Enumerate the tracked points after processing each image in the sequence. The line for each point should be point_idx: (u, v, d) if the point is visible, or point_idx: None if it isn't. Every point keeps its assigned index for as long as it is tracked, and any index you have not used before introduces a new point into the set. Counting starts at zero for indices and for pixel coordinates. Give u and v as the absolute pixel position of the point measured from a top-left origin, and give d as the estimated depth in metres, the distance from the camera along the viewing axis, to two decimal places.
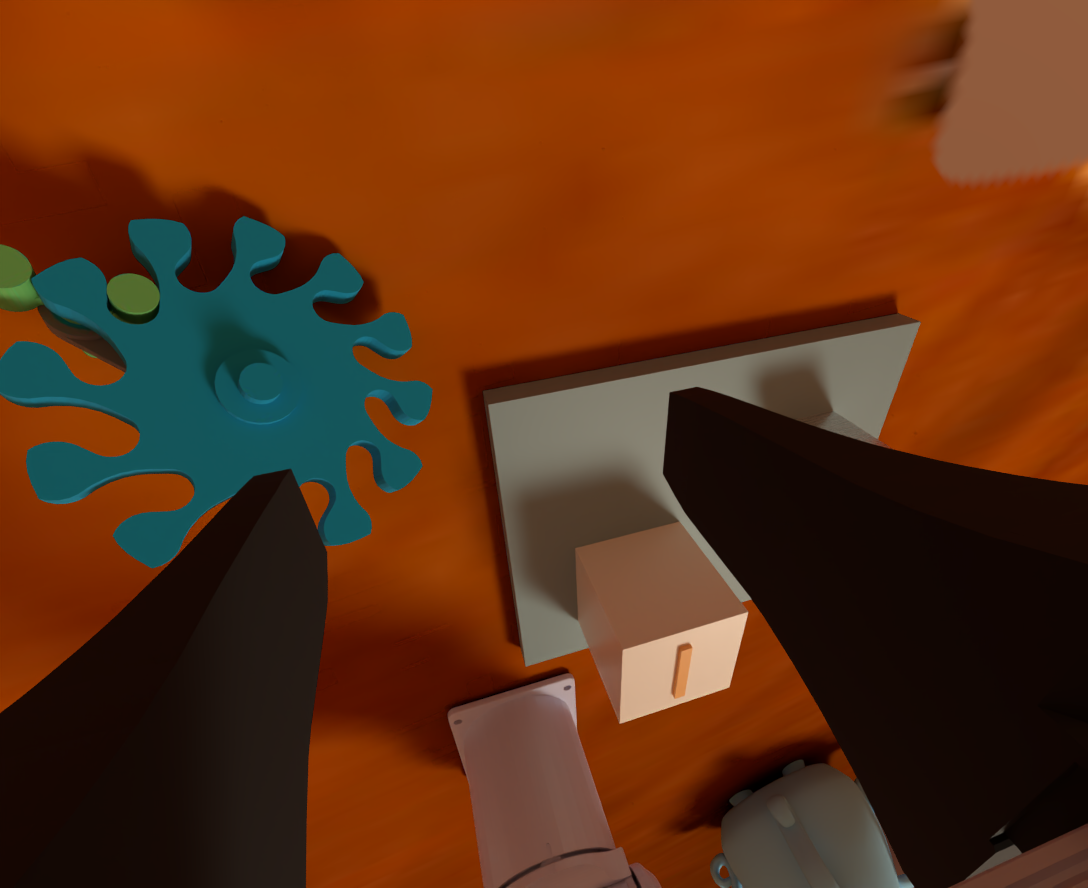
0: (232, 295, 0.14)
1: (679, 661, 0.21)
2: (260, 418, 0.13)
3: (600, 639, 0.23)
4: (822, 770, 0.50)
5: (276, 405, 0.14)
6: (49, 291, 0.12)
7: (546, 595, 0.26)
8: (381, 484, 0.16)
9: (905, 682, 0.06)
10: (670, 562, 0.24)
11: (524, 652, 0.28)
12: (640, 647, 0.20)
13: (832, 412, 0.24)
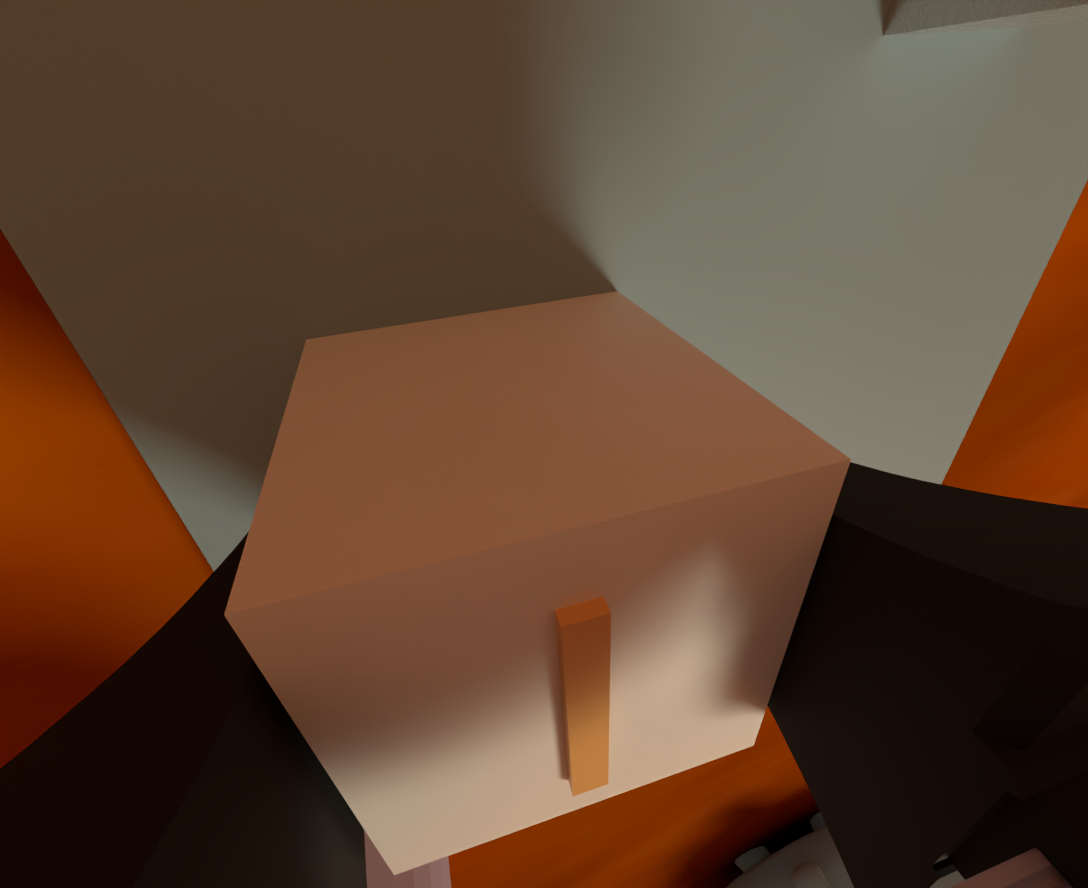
0: None
1: None
2: None
3: None
4: None
5: None
6: None
7: None
8: None
9: (852, 701, 0.06)
10: (569, 356, 0.07)
11: None
12: (339, 604, 0.04)
13: None
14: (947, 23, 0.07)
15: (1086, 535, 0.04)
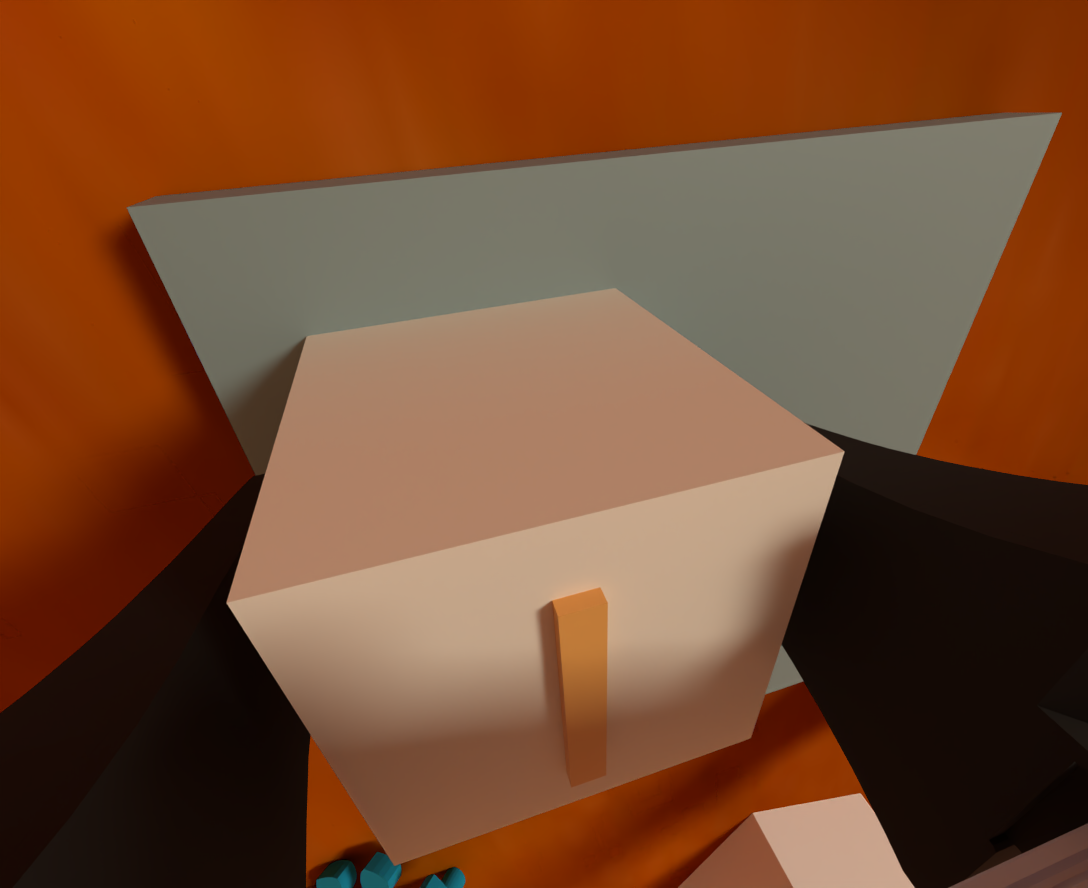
0: None
1: (562, 660, 0.05)
2: None
3: None
4: None
5: None
6: None
7: None
8: None
9: (905, 682, 0.06)
10: (567, 352, 0.08)
11: (796, 682, 0.21)
12: (340, 593, 0.04)
13: None
14: None
15: None
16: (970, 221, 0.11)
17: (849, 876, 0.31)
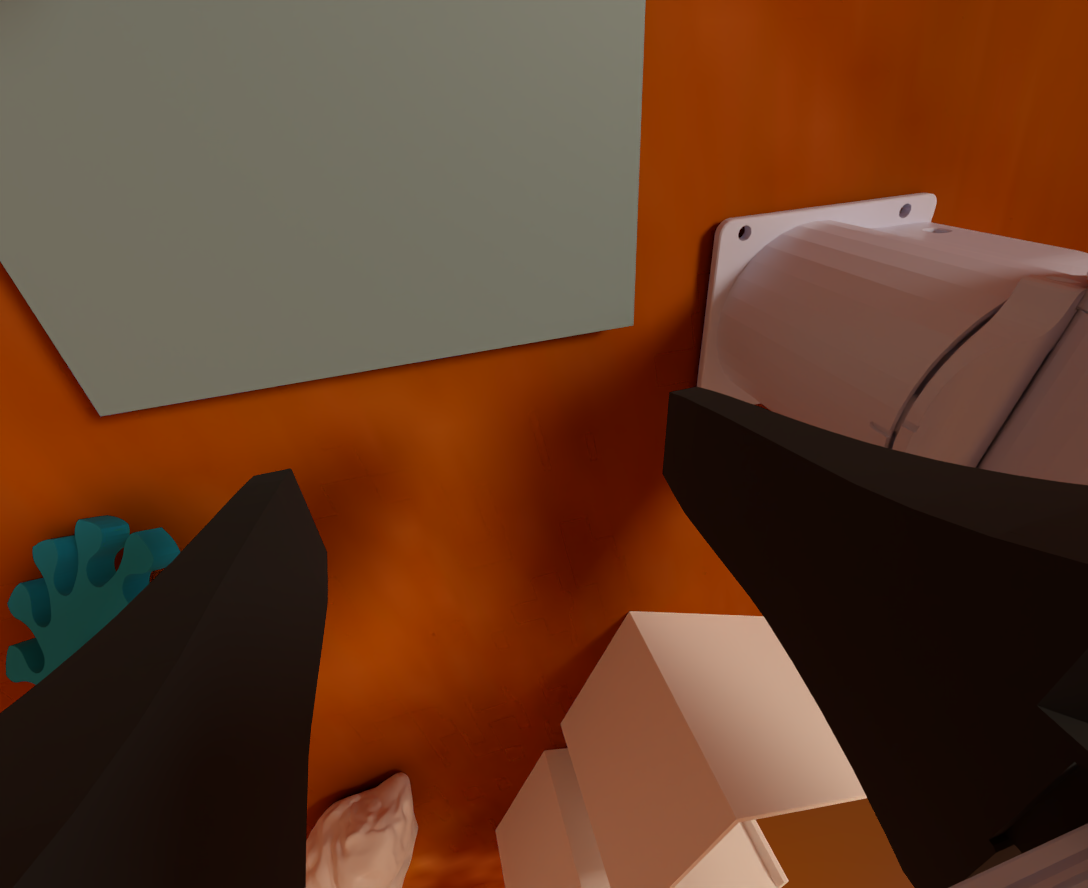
0: (48, 646, 0.17)
1: None
2: None
3: None
4: None
5: None
6: None
7: (477, 305, 0.16)
8: None
9: (905, 682, 0.06)
10: None
11: (600, 329, 0.18)
12: None
13: None
14: None
15: None
16: None
17: (732, 672, 0.28)
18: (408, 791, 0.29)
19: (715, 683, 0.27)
